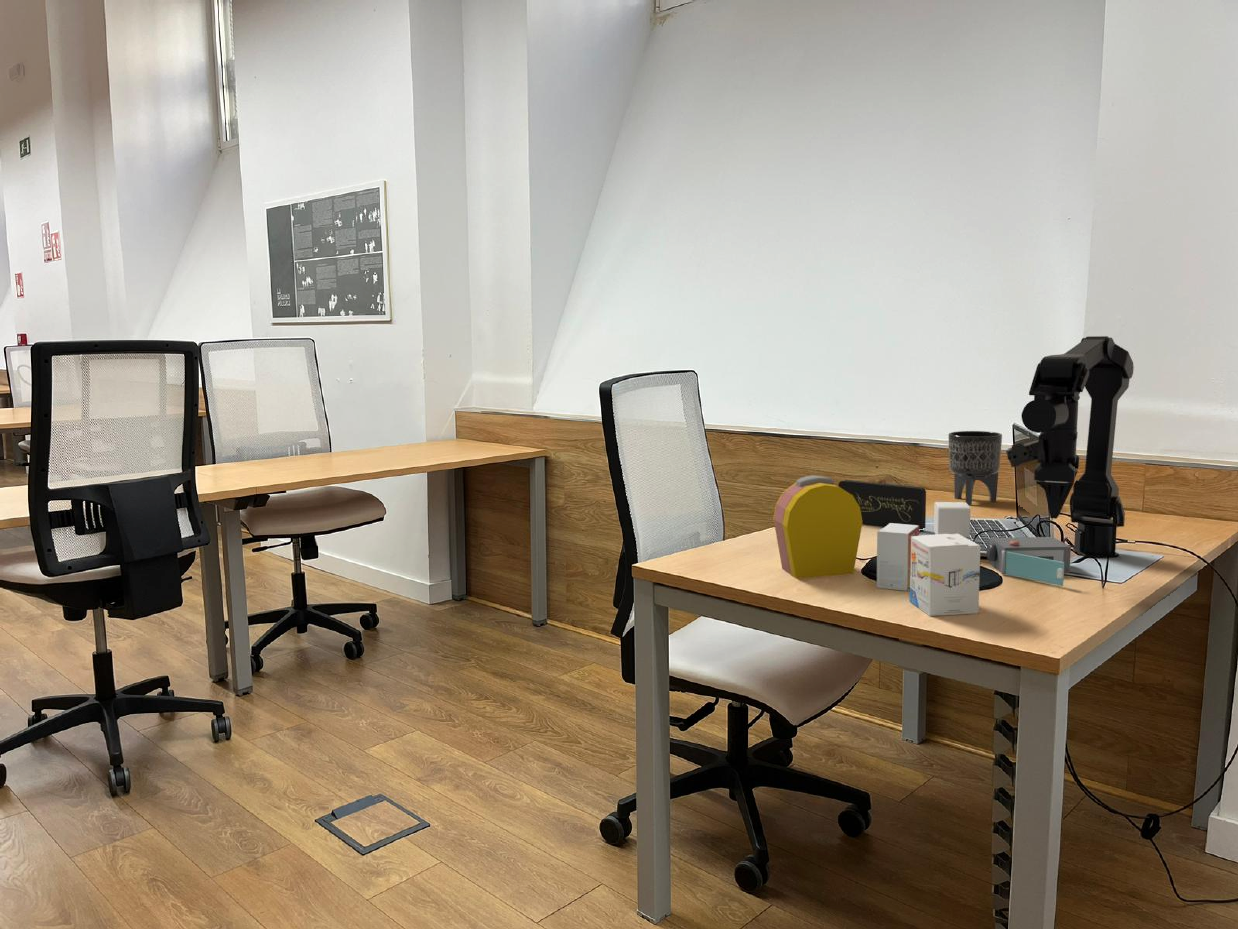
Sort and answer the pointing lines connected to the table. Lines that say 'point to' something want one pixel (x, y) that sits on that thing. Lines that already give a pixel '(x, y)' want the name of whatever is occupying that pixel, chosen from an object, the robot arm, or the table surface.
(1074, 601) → the table surface
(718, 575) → the table surface
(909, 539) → the small box
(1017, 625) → the table surface
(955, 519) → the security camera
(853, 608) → the table surface
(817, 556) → the yellow arched block
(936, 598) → the ink box
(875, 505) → the nameplate
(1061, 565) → the side door
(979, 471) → the planter
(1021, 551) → the box
